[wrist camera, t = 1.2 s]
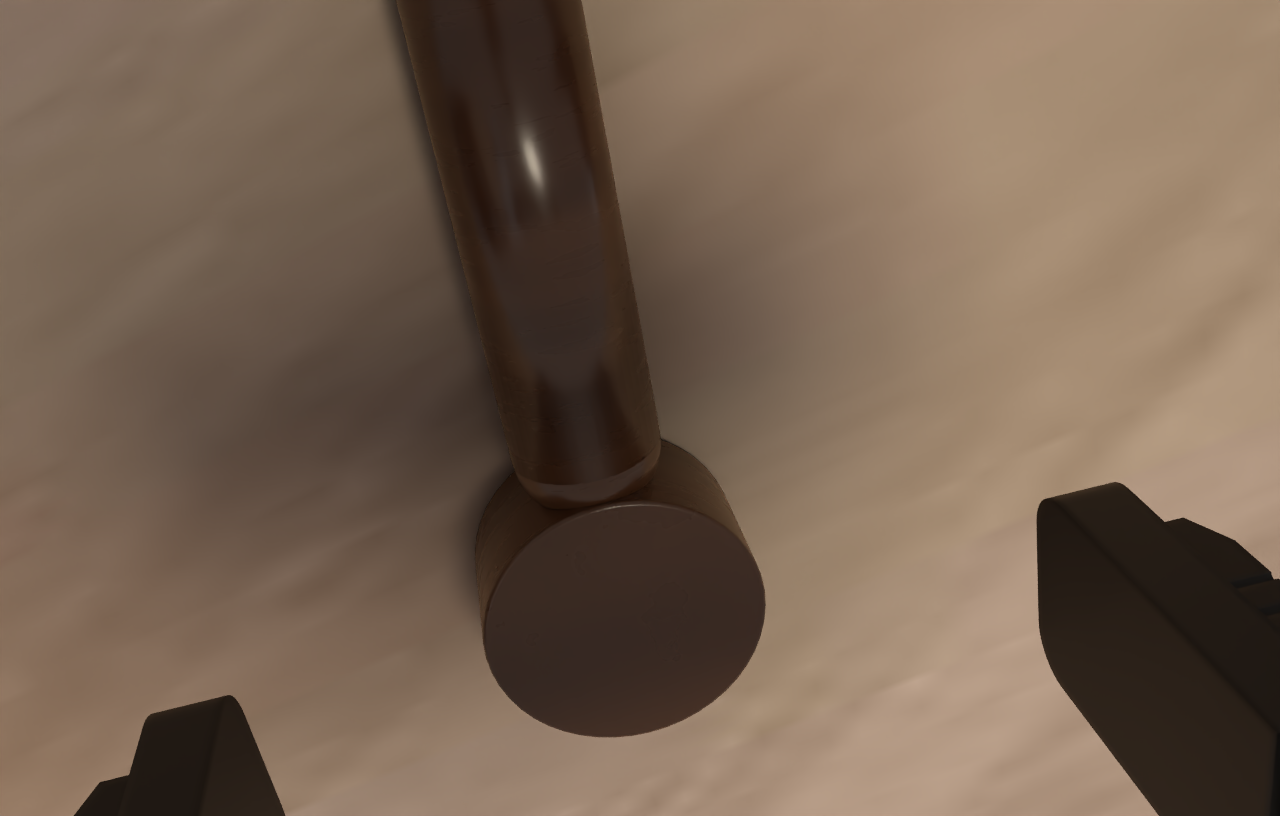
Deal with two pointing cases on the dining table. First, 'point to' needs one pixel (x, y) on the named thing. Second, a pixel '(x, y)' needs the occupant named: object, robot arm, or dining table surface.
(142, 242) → the dining table surface
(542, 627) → the rod with round cap
